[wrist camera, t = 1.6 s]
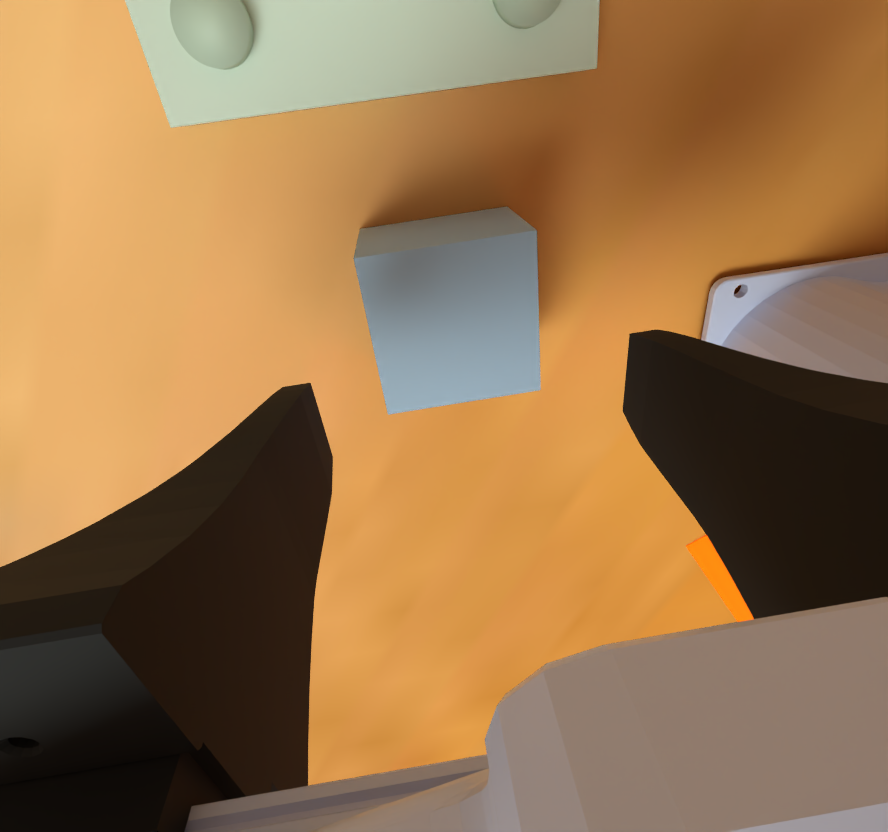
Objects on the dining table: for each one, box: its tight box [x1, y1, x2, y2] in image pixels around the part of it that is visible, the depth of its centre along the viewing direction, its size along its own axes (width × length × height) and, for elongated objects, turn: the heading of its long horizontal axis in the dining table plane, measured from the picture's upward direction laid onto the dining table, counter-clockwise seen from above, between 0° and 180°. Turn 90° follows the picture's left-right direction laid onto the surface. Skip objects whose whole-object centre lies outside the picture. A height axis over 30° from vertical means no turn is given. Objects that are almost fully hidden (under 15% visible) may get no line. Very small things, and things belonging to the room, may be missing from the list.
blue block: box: [354, 206, 540, 414], centre depth 16 cm, size 5×5×4 cm
